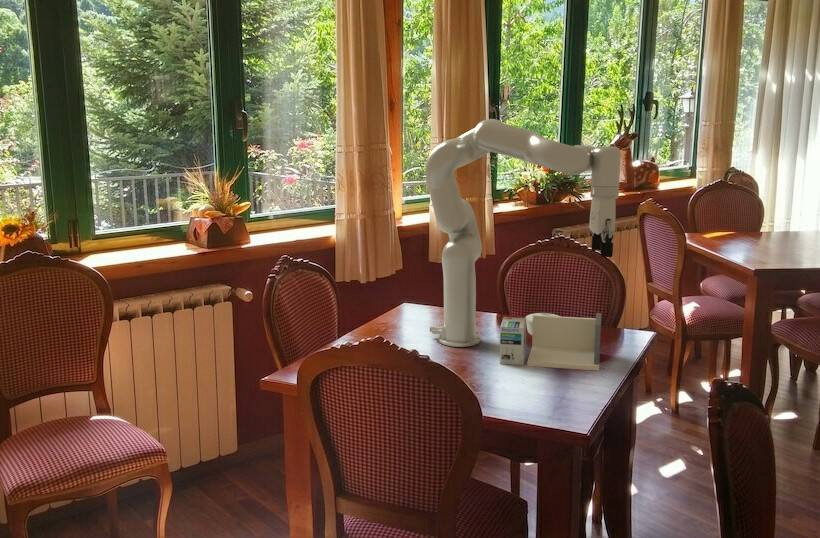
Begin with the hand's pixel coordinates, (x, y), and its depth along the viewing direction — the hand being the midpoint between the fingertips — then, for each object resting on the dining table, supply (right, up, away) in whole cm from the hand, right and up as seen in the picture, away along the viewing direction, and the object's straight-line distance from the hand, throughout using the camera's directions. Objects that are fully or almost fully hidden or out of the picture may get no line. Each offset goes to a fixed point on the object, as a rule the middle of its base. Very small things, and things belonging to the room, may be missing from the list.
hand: (601, 253), depth 222 cm
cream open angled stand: (-10, -30, 0) cm, 31 cm away
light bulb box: (-25, -30, +1) cm, 39 cm away
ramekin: (-12, -25, +25) cm, 37 cm away
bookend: (-2, -29, -2) cm, 29 cm away
